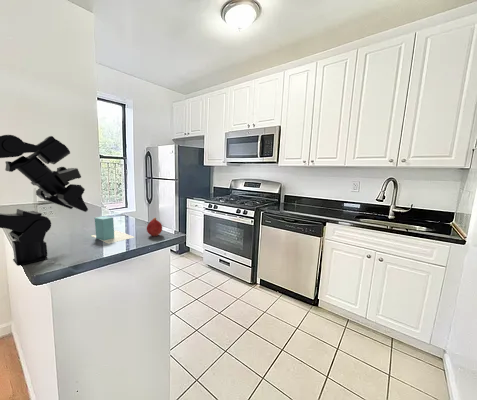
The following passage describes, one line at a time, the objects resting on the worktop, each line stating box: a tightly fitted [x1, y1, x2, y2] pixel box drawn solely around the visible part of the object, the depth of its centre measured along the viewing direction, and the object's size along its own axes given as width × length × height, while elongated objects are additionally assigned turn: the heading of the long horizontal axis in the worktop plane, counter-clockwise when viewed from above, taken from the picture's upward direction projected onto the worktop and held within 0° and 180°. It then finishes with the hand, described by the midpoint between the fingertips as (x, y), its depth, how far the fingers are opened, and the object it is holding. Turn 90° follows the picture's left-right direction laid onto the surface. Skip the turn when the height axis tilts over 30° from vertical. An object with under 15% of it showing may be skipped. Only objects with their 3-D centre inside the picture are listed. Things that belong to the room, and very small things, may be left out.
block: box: [94, 215, 115, 241], centre depth 85 cm, size 4×5×8 cm
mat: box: [91, 230, 135, 245], centre depth 88 cm, size 10×15×1 cm, turn 53°
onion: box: [146, 217, 163, 237], centre depth 89 cm, size 6×6×8 cm
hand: (79, 209), depth 76 cm, fingers open, 9 cm apart
